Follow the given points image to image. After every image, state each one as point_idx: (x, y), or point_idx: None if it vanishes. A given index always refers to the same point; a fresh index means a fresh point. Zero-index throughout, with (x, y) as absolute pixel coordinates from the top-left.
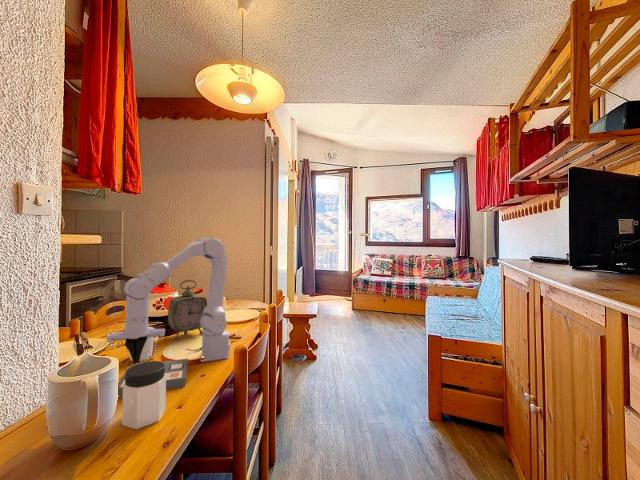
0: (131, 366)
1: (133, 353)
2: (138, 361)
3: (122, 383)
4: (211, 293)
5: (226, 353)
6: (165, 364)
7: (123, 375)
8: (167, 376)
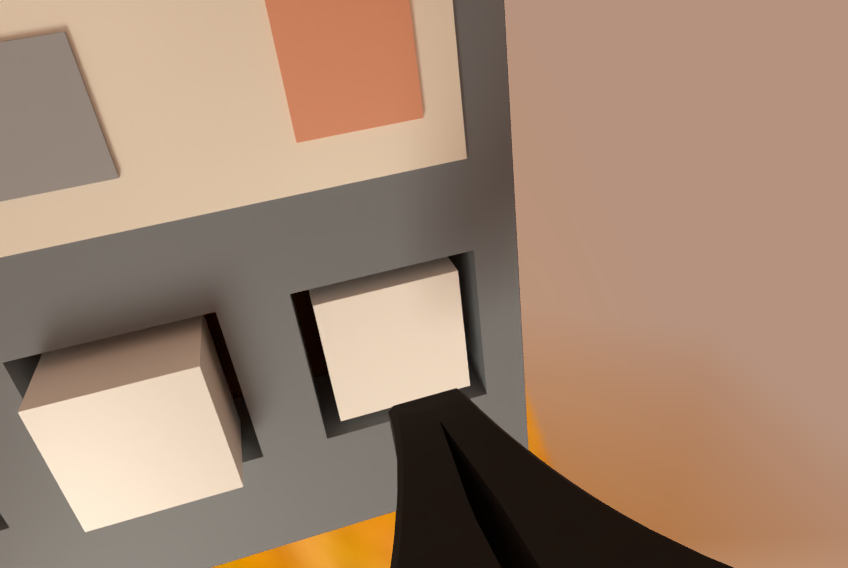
0: None
1: (524, 501)
2: (393, 423)
3: (449, 24)
4: None
5: None
6: None
7: (515, 272)
8: None
